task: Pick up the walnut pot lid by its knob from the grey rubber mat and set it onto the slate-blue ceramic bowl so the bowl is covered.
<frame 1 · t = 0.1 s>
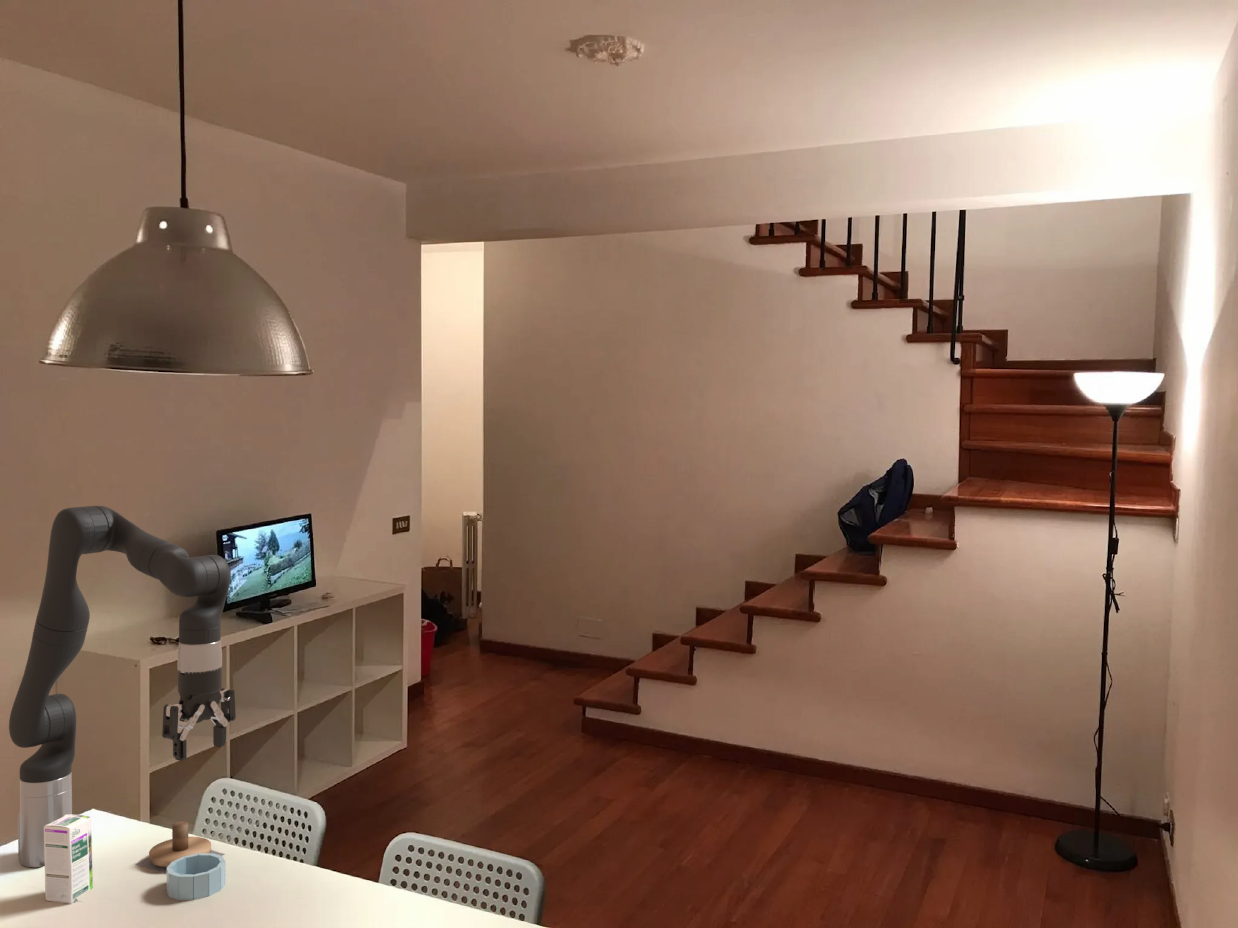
hand: (200, 752, 183), 29 cm above the table, tool pointing down, fingers open, 8 cm apart
mat: (180, 861, 204), on the table
syrup box: (68, 896, 189), on the table
lid: (180, 858, 204), point 1 cm above the table, touching mat
bowl: (196, 889, 192), on the table
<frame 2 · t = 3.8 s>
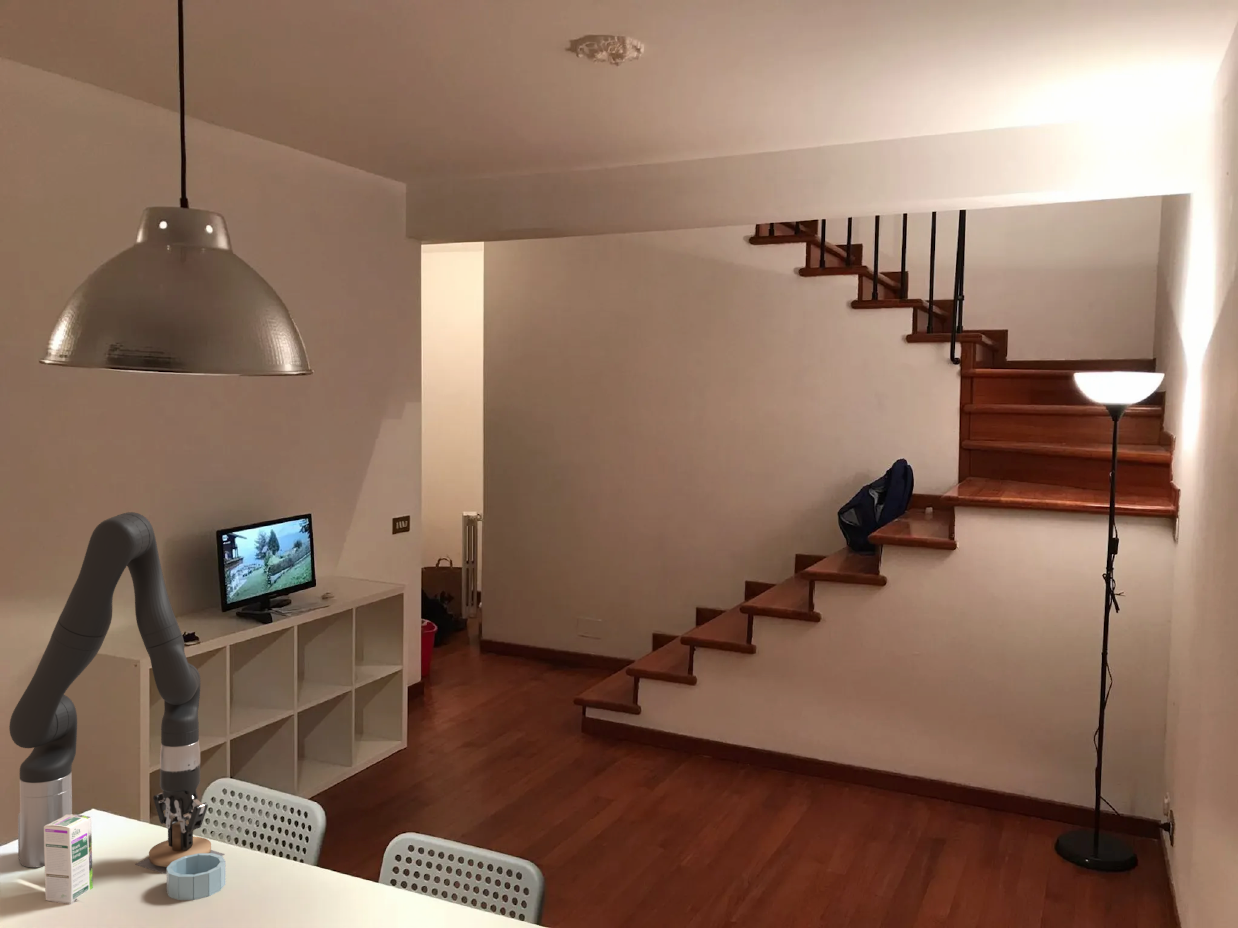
hand: (180, 846, 204), 3 cm above the table, tool pointing down, fingers closed on lid, 3 cm apart
lid: (180, 858, 204), point 1 cm above the table, touching gripper, mat
everything else where it was.
when the fingers open (8 cm above the table, at t = 8.5 s): lid drops 1 cm, resting on bowl.
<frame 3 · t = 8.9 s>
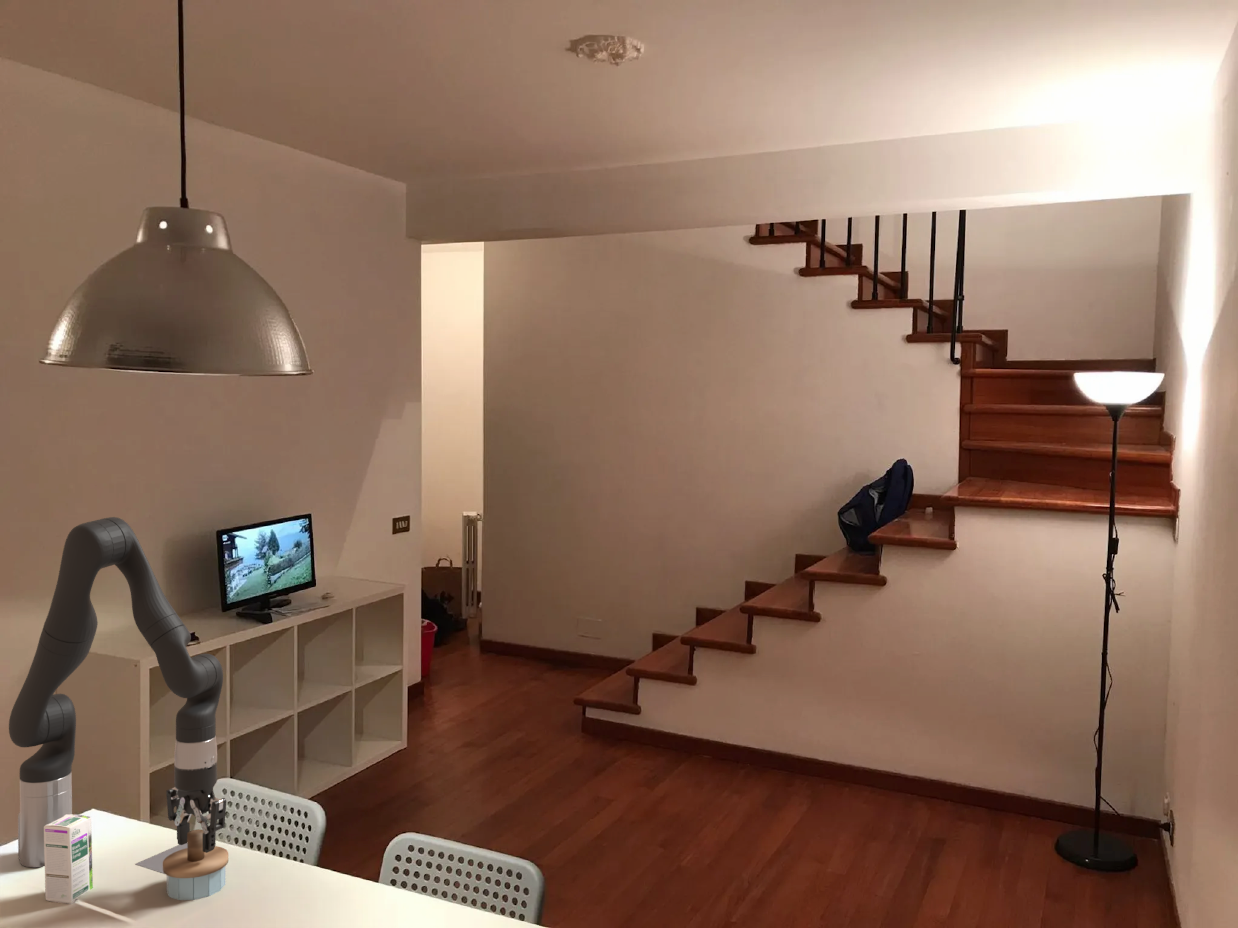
hand: (196, 846, 192), 8 cm above the table, tool pointing down, fingers open, 6 cm apart
lid: (196, 869, 192), point 4 cm above the table, touching bowl
everything else where it was.
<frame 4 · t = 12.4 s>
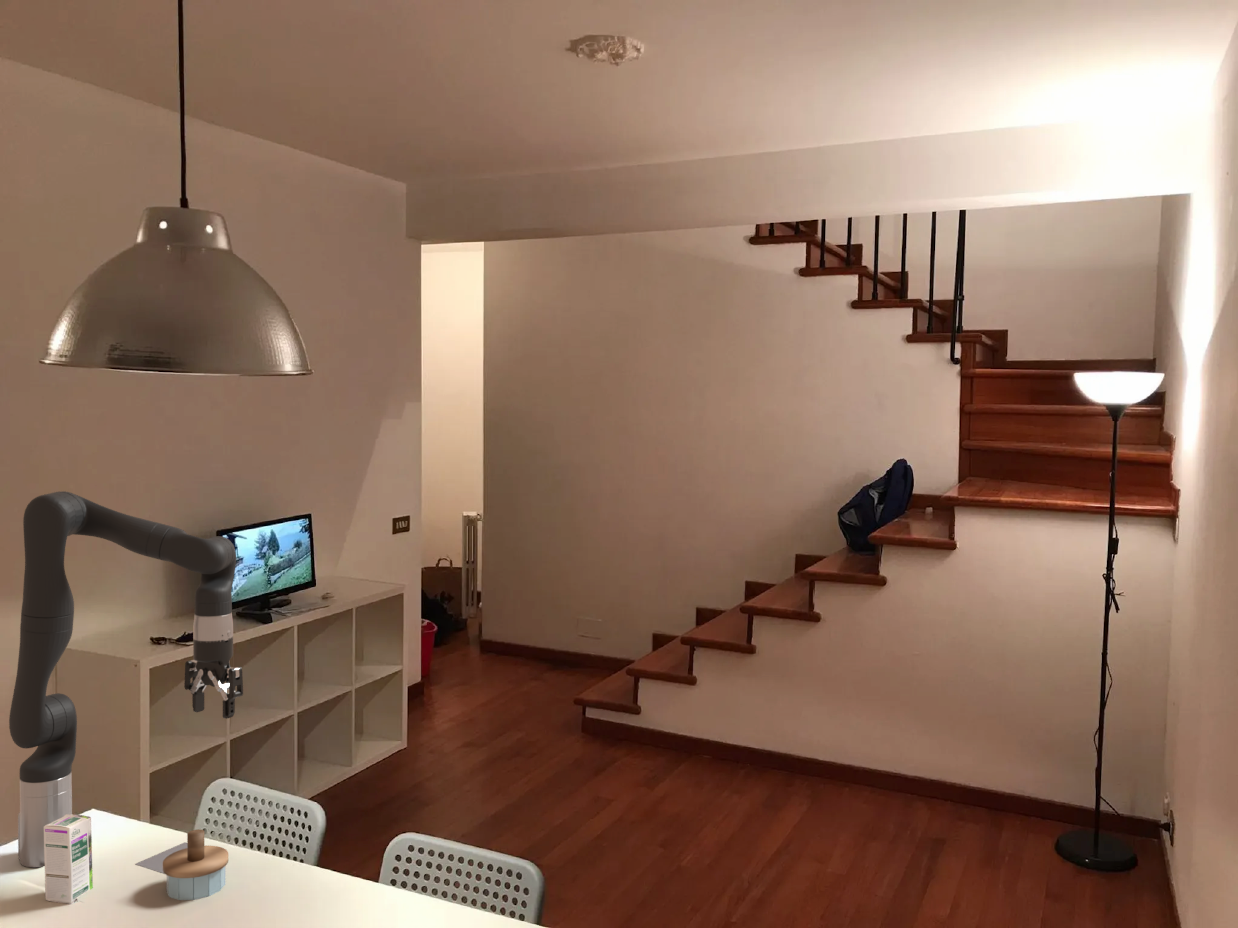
hand: (213, 714, 204), 30 cm above the table, tool pointing down, fingers open, 8 cm apart
nothing on the table moved.
at the end: lid 0.1 cm off-centre on the bowl, point 4.0 cm above the bowl's base; lid tilted 0°; the gripper is holding nothing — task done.
